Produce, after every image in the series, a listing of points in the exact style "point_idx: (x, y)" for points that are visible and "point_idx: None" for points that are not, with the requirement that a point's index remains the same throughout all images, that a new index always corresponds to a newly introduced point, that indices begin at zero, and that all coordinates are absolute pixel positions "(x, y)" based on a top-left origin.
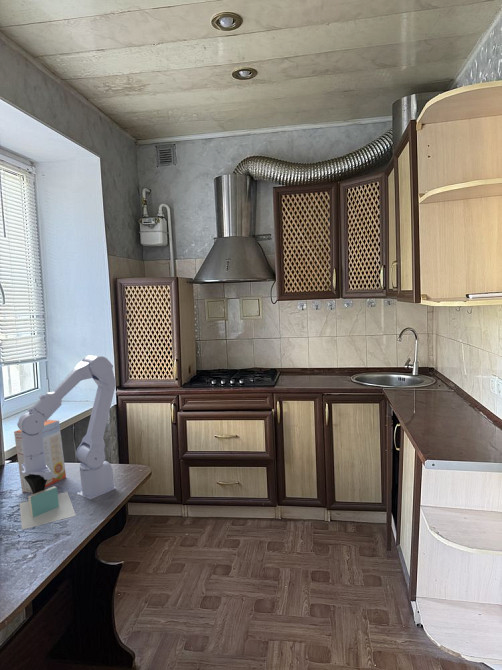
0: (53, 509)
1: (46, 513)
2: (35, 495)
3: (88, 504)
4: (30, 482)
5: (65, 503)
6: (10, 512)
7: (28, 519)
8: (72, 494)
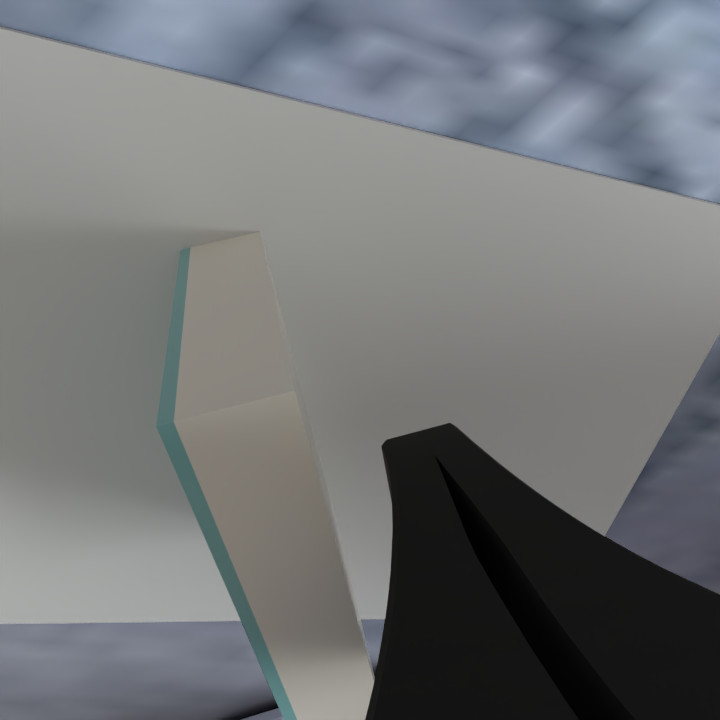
0: None
1: None
2: (201, 512)
3: (134, 705)
4: (534, 704)
5: None
6: (670, 50)
7: (154, 179)
8: None
